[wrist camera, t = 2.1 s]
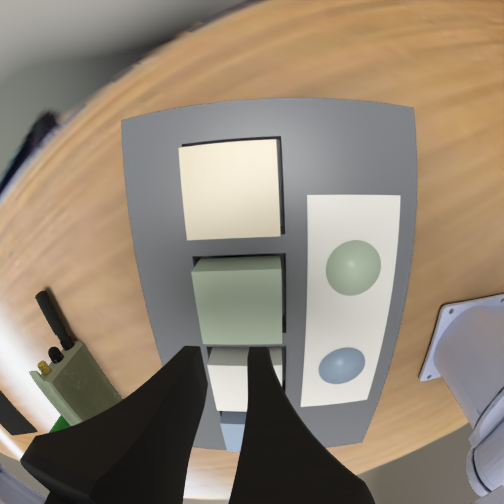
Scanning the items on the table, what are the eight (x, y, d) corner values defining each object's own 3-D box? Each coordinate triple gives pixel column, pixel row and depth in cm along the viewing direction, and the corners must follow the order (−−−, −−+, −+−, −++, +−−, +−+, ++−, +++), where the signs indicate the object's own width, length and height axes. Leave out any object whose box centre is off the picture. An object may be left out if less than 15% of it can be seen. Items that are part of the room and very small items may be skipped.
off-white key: (281, 345, 17) (282, 365, 15) (281, 391, 18) (281, 411, 16) (212, 345, 17) (207, 365, 15) (221, 391, 19) (217, 410, 17)
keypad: (395, 113, 14) (415, 106, 11) (357, 423, 22) (362, 444, 20) (140, 124, 15) (119, 119, 12) (197, 428, 23) (192, 448, 21)
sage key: (279, 255, 15) (281, 269, 13) (281, 324, 16) (282, 343, 15) (200, 258, 15) (191, 271, 14) (209, 325, 17) (202, 343, 15)
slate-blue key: (280, 404, 19) (281, 424, 17) (280, 434, 20) (280, 452, 18) (223, 404, 19) (220, 423, 17) (229, 434, 20) (227, 451, 19)
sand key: (275, 142, 13) (276, 139, 11) (278, 226, 15) (280, 236, 13) (190, 149, 14) (178, 147, 12) (197, 230, 15) (187, 240, 13)
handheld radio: (157, 456, 27) (38, 290, 20) (179, 456, 26) (57, 282, 20) (146, 495, 20) (-6, 323, 13) (169, 498, 20) (9, 318, 13)
